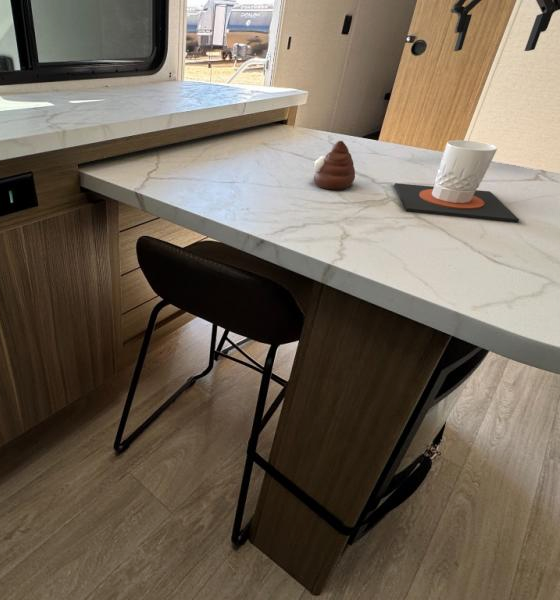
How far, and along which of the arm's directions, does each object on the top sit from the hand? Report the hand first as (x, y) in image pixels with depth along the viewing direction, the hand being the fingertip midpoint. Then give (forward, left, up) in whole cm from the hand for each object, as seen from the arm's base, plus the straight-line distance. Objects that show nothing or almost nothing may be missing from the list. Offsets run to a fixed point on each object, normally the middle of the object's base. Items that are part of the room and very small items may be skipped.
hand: (492, 50), depth 91 cm
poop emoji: (+29, +25, -25) cm, 46 cm away
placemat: (+7, +30, -25) cm, 40 cm away
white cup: (+7, +30, -24) cm, 39 cm away
